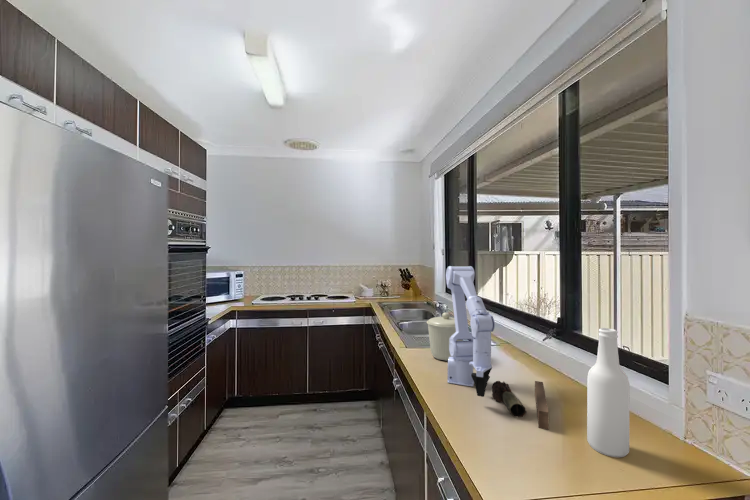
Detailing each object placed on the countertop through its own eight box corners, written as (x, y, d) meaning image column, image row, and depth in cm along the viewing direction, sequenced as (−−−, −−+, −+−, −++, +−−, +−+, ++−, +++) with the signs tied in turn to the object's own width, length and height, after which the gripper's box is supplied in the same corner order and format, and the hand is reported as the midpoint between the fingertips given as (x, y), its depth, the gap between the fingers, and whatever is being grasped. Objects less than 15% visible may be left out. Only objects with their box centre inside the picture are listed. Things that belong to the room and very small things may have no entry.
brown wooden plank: (538, 427, 95) (538, 410, 95) (534, 394, 117) (534, 380, 117) (548, 429, 94) (548, 412, 94) (542, 396, 116) (542, 382, 116)
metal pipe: (526, 418, 101) (526, 399, 101) (503, 418, 102) (503, 399, 102) (507, 393, 119) (506, 377, 119) (487, 392, 119) (487, 377, 119)
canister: (470, 364, 149) (470, 316, 149) (429, 363, 149) (429, 315, 149) (460, 351, 167) (460, 309, 167) (423, 351, 167) (424, 309, 168)
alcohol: (579, 444, 87) (580, 327, 87) (598, 435, 92) (598, 324, 92) (617, 462, 80) (618, 335, 80) (636, 452, 84) (636, 331, 84)
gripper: (472, 343, 121) (472, 381, 121) (466, 355, 108) (466, 398, 108) (493, 346, 118) (493, 385, 118) (490, 358, 105) (489, 401, 105)
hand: (481, 391), depth 113 cm, fingers open, 7 cm apart
